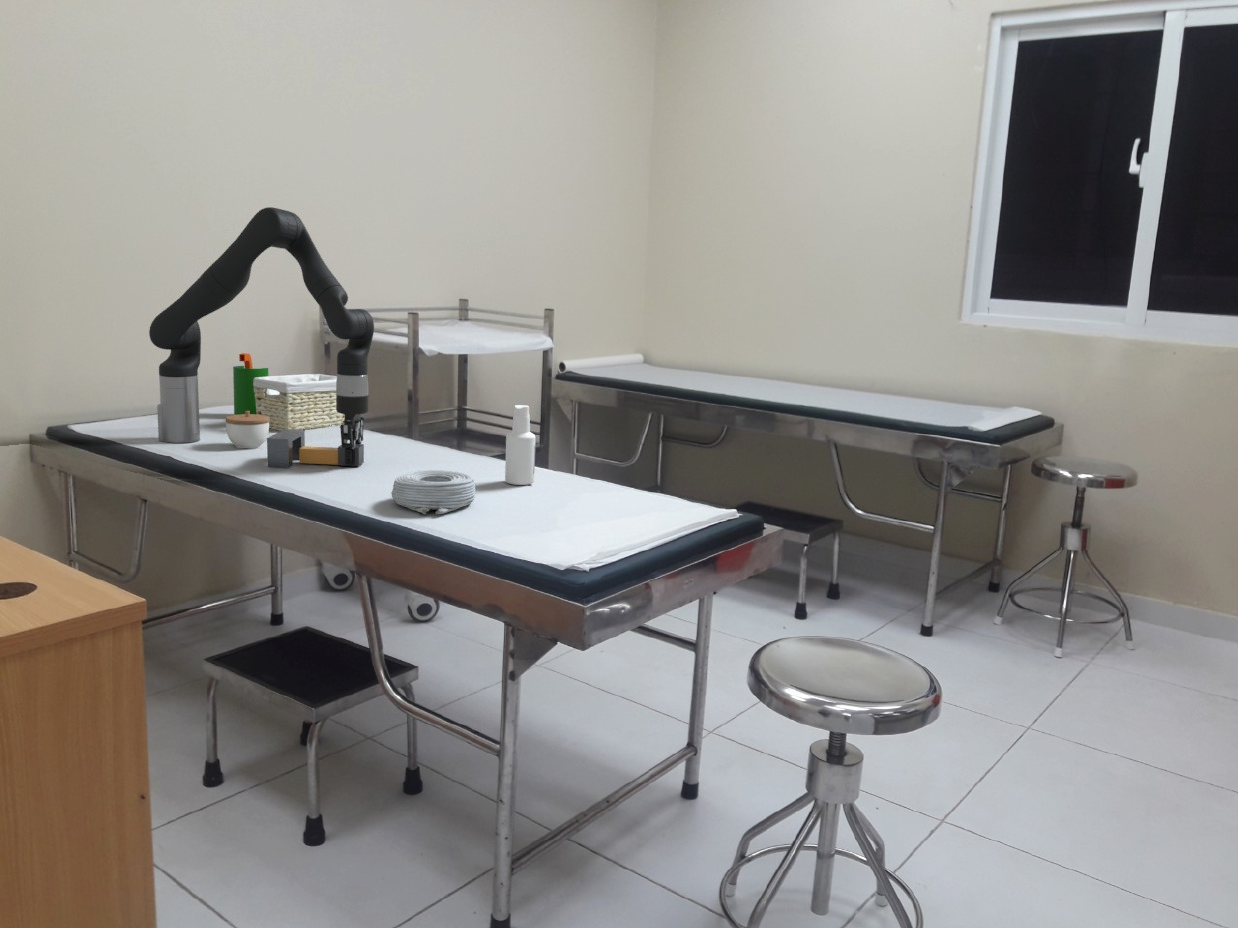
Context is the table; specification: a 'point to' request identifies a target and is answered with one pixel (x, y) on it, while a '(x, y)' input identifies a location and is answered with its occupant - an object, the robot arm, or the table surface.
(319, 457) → the plug
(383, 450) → the table surface
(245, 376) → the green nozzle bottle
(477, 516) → the table surface
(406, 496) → the cable
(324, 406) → the storage basket
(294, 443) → the housing
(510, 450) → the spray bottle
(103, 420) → the table surface
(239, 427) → the lidded jar
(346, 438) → the robot arm
